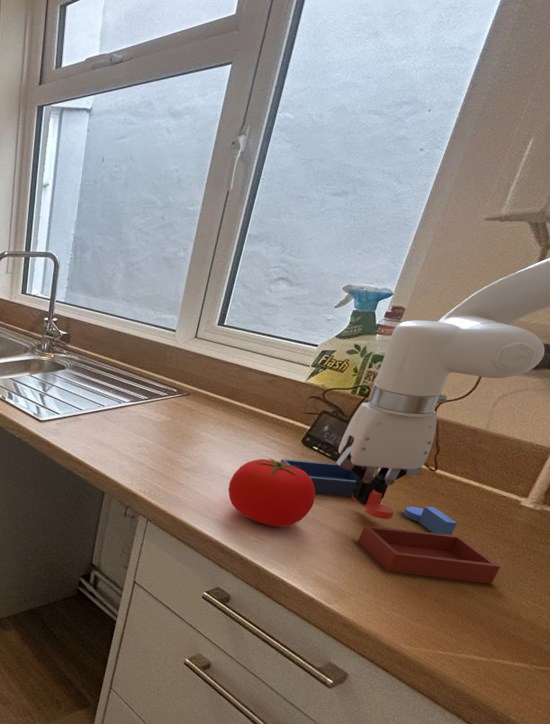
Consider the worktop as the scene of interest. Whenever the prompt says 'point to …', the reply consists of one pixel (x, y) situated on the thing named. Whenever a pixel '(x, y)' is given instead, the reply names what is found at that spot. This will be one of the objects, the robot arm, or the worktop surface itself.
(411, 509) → the blue stepped block
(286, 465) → the tomato
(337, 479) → the blue tub
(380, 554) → the red tub
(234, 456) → the worktop surface
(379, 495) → the red stepped block
